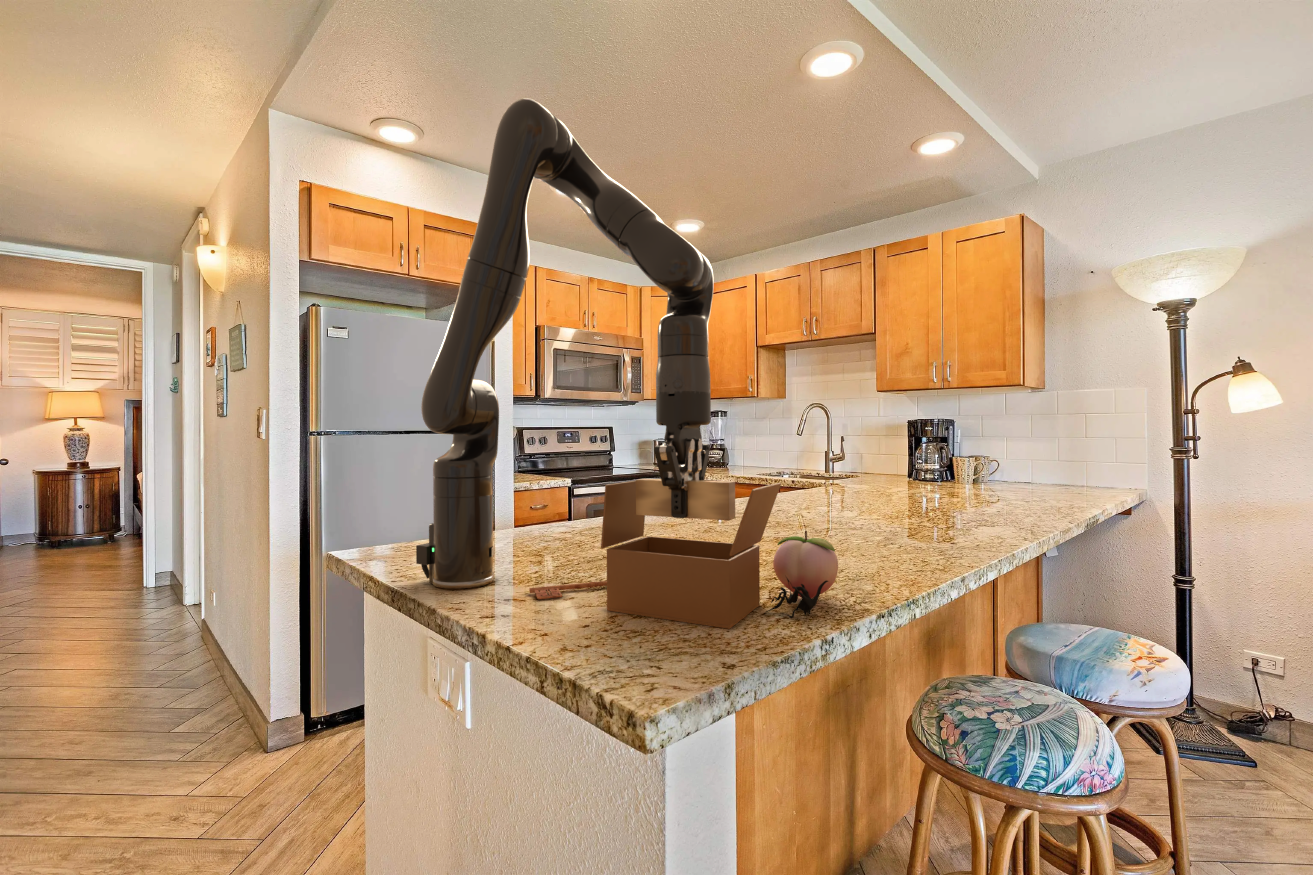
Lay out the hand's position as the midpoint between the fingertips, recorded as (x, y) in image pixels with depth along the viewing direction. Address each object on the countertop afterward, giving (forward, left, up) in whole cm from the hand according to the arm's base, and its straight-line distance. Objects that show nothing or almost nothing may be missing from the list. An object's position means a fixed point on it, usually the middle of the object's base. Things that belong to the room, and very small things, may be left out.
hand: (684, 515), depth 85 cm
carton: (0, 0, -13) cm, 13 cm away
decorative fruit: (+14, +12, -13) cm, 22 cm away
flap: (+10, 0, 0) cm, 10 cm away
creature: (+14, +4, -13) cm, 19 cm away
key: (-18, +1, -13) cm, 22 cm away
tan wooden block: (0, 0, 0) cm, 0 cm away
